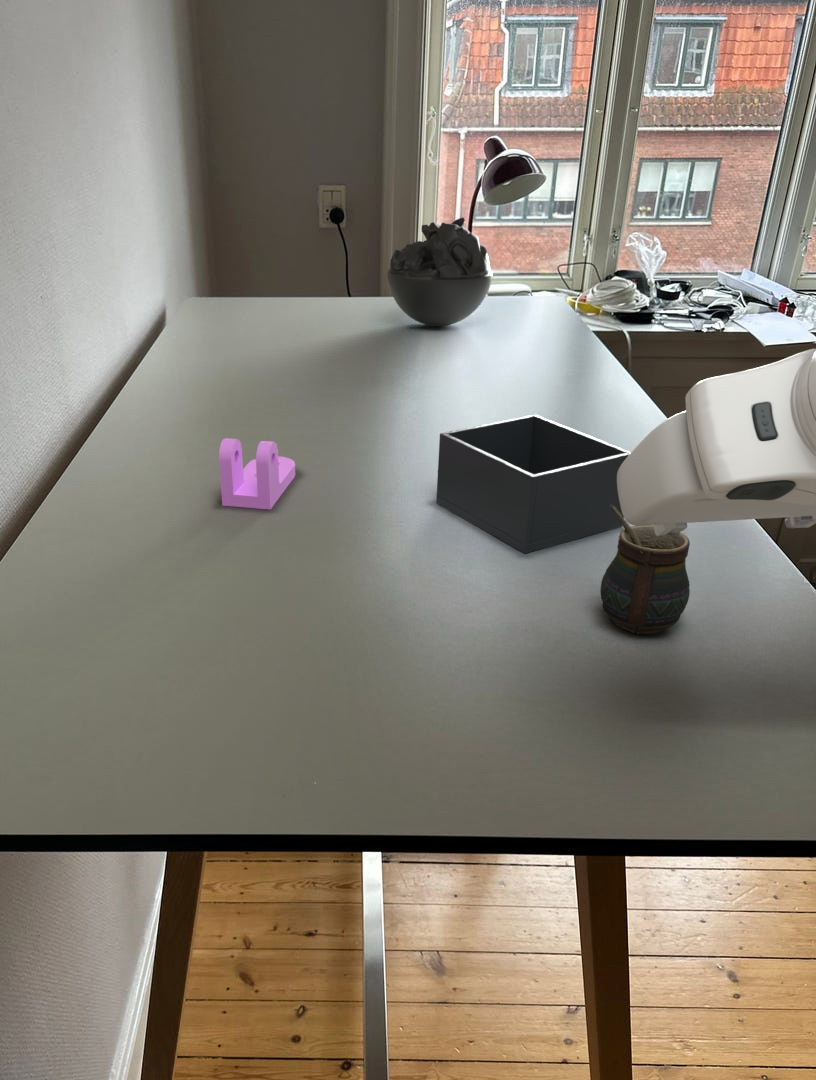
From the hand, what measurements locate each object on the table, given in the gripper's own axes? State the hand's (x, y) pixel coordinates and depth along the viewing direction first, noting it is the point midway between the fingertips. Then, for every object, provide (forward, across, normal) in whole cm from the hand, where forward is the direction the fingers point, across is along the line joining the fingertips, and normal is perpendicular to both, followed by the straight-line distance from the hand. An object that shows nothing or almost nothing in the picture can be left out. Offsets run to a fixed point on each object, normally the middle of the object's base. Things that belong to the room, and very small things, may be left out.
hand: (728, 521), depth 63 cm
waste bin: (+34, +2, -14) cm, 37 cm away
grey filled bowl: (+100, -8, -80) cm, 129 cm away
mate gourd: (+17, 0, +3) cm, 17 cm away
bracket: (+43, +30, -23) cm, 57 cm away
